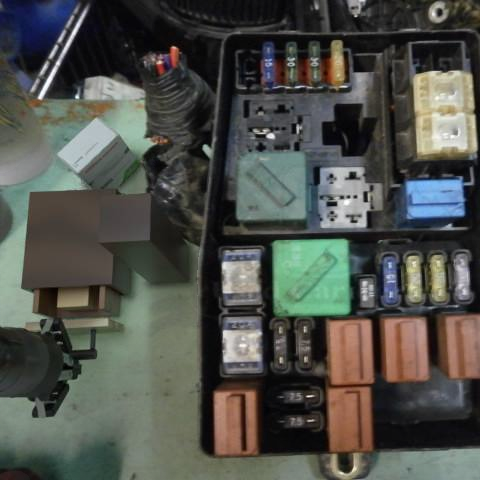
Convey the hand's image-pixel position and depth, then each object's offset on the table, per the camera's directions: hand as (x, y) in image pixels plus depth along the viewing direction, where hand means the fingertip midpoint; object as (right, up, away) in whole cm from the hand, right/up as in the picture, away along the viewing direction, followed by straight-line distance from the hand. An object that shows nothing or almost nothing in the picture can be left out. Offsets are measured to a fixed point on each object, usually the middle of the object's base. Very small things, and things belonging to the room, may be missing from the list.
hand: (74, 370), depth 77 cm
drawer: (-1, +9, +7) cm, 11 cm away
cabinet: (-2, +16, +10) cm, 19 cm away
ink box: (0, +30, +14) cm, 33 cm away
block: (-1, +10, +6) cm, 11 cm away
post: (+11, +15, +10) cm, 21 cm away
